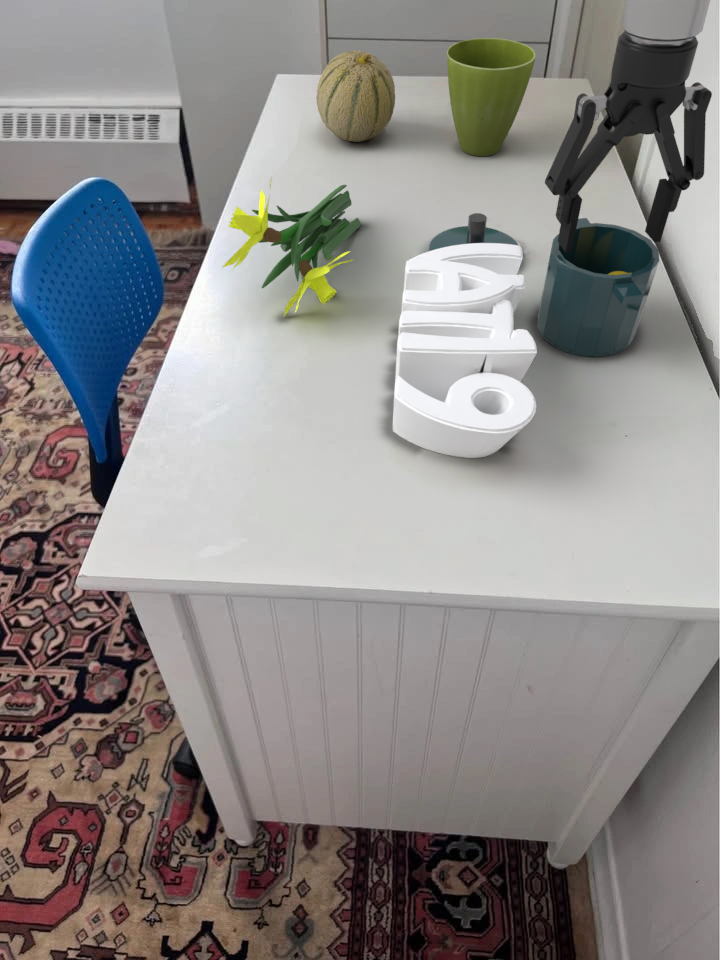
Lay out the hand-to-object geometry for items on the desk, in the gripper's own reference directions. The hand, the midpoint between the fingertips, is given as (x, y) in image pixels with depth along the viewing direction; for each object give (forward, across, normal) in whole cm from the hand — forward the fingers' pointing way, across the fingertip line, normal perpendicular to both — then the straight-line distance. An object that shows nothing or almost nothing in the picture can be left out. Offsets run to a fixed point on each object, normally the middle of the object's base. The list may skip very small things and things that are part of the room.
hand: (608, 241), depth 87 cm
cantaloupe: (+12, +21, -65) cm, 70 cm away
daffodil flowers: (+12, +36, -20) cm, 43 cm away
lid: (+12, +10, -20) cm, 25 cm away
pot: (+13, 0, 0) cm, 13 cm away
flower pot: (+12, -1, -56) cm, 57 cm away
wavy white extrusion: (+13, +20, +7) cm, 24 cm away
